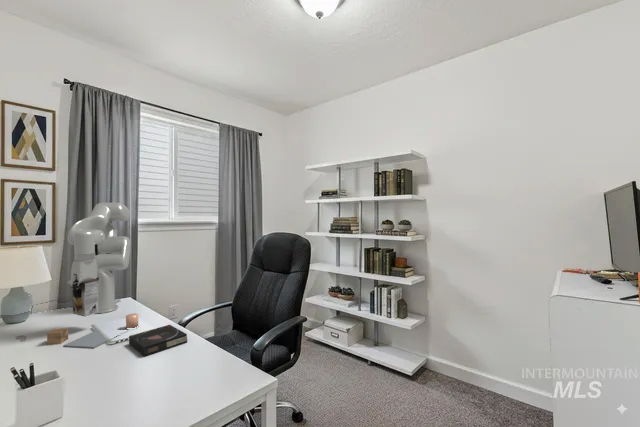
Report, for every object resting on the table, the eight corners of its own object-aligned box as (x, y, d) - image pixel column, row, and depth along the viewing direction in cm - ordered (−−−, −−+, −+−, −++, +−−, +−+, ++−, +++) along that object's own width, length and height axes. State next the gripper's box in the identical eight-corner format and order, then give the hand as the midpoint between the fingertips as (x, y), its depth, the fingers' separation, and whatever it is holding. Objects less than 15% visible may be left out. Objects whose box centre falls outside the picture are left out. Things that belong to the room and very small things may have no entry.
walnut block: (54, 340, 130) (54, 328, 130) (68, 339, 131) (68, 327, 131) (47, 345, 125) (47, 333, 125) (61, 343, 126) (61, 332, 126)
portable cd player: (144, 358, 114) (144, 347, 114) (129, 345, 125) (129, 335, 125) (187, 343, 126) (187, 334, 126) (169, 333, 138) (169, 324, 138)
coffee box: (72, 314, 140) (71, 280, 140) (87, 309, 146) (86, 276, 146) (84, 317, 137) (83, 282, 136) (99, 312, 143) (98, 278, 142)
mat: (100, 329, 141) (100, 328, 141) (127, 331, 139) (127, 329, 139) (63, 346, 123) (63, 345, 123) (94, 348, 121) (94, 346, 121)
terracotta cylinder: (131, 325, 146) (131, 313, 146) (140, 325, 145) (140, 313, 145) (123, 329, 141) (123, 316, 141) (133, 329, 141) (133, 317, 140)
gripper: (93, 254, 150) (94, 289, 151) (59, 260, 133) (60, 300, 133) (107, 254, 149) (108, 289, 150) (74, 261, 132) (75, 301, 132)
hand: (85, 294), depth 141 cm, fingers closed on coffee box, 7 cm apart
